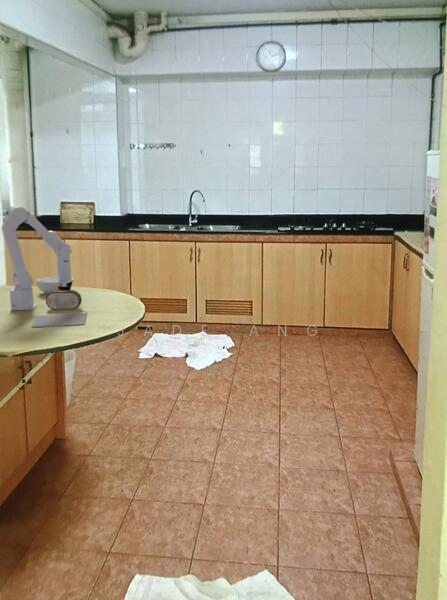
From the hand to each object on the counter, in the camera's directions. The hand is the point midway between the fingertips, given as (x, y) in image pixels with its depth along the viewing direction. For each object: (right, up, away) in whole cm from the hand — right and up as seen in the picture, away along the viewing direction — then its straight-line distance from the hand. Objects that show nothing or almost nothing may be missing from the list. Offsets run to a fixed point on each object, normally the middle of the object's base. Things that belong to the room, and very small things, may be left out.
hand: (66, 299), depth 273 cm
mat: (+6, -9, -32) cm, 33 cm away
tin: (+2, -5, -13) cm, 14 cm away
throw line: (+4, -6, -22) cm, 23 cm away
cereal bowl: (-11, +3, +21) cm, 23 cm away
